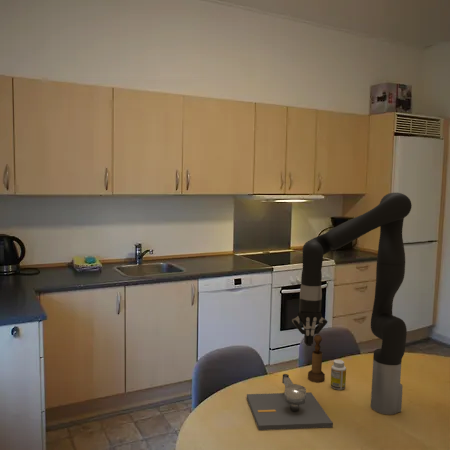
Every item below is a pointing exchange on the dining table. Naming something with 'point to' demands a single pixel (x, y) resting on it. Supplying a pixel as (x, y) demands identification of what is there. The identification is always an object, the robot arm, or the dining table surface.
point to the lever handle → (293, 393)
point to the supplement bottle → (338, 375)
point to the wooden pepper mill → (316, 363)
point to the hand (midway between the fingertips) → (308, 345)
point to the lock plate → (286, 412)
